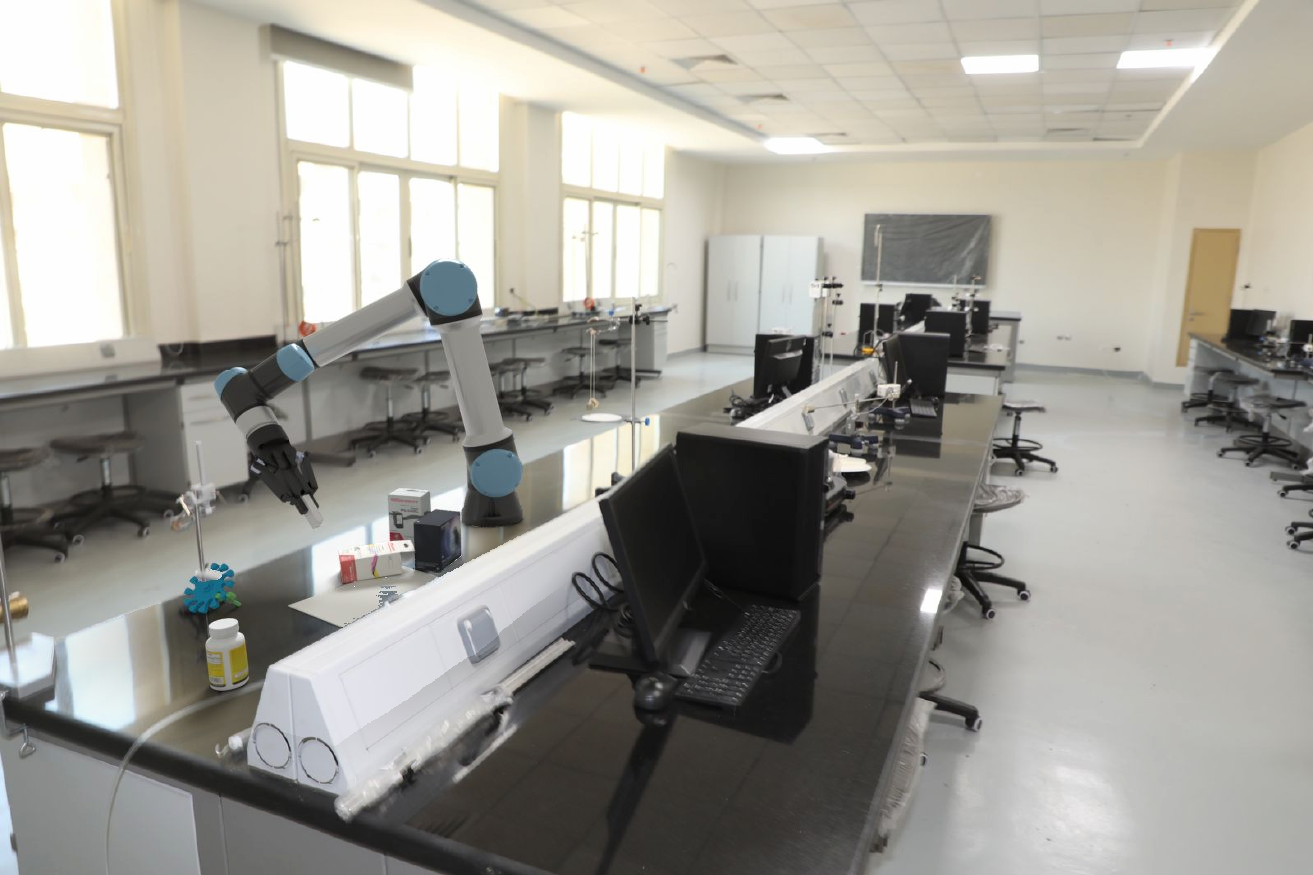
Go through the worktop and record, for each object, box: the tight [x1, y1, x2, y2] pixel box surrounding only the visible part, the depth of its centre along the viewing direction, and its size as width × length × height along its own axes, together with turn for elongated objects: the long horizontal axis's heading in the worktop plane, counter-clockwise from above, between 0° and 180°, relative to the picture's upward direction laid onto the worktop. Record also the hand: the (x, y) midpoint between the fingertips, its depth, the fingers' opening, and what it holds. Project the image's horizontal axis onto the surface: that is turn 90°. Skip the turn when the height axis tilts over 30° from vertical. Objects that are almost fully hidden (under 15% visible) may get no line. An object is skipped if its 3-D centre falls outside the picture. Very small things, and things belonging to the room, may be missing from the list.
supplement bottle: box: [205, 617, 250, 692], centre depth 128 cm, size 5×5×10 cm
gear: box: [183, 562, 242, 615], centre depth 158 cm, size 11×6×10 cm
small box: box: [413, 508, 463, 573], centre depth 180 cm, size 11×6×10 cm, turn 169°
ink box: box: [387, 487, 432, 546], centre depth 193 cm, size 9×5×12 cm, turn 78°
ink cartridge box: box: [337, 540, 415, 584], centre depth 175 cm, size 9×5×15 cm
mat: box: [287, 564, 437, 628], centre depth 163 cm, size 26×18×1 cm
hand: (318, 524), depth 170 cm, fingers closed
